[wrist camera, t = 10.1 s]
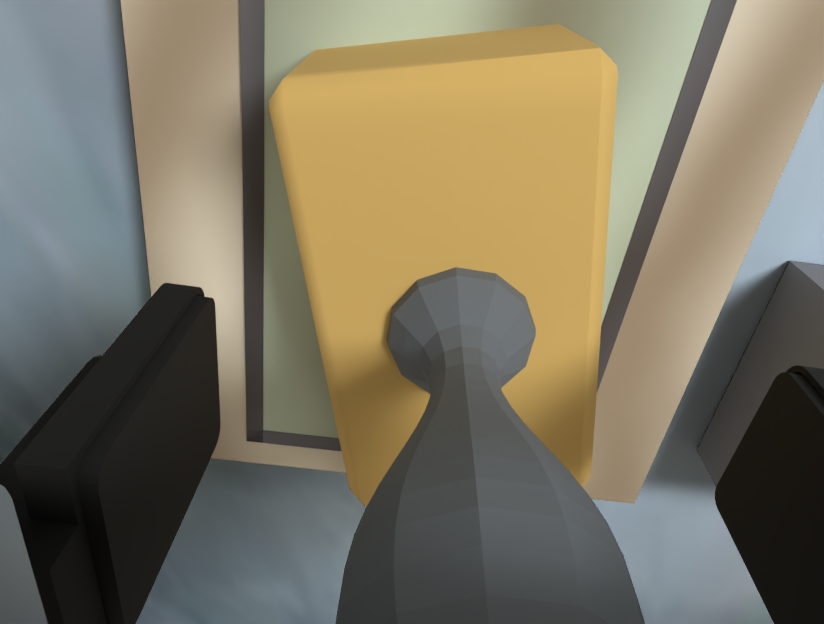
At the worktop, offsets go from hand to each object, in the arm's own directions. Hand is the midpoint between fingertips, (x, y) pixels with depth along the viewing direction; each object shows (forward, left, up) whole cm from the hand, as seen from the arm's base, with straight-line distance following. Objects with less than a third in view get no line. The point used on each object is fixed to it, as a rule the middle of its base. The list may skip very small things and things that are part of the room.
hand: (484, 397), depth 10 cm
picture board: (+1, 0, -7) cm, 7 cm away
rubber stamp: (0, 0, -6) cm, 6 cm away
